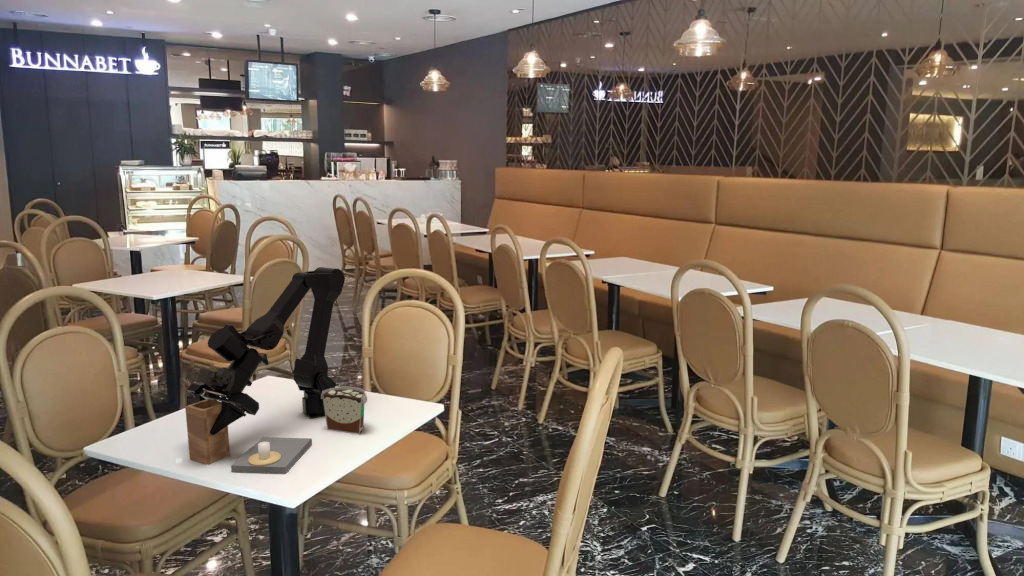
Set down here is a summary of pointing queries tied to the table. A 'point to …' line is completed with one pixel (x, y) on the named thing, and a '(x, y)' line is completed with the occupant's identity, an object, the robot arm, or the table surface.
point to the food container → (344, 409)
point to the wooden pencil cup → (206, 432)
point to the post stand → (272, 455)
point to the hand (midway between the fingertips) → (202, 431)
